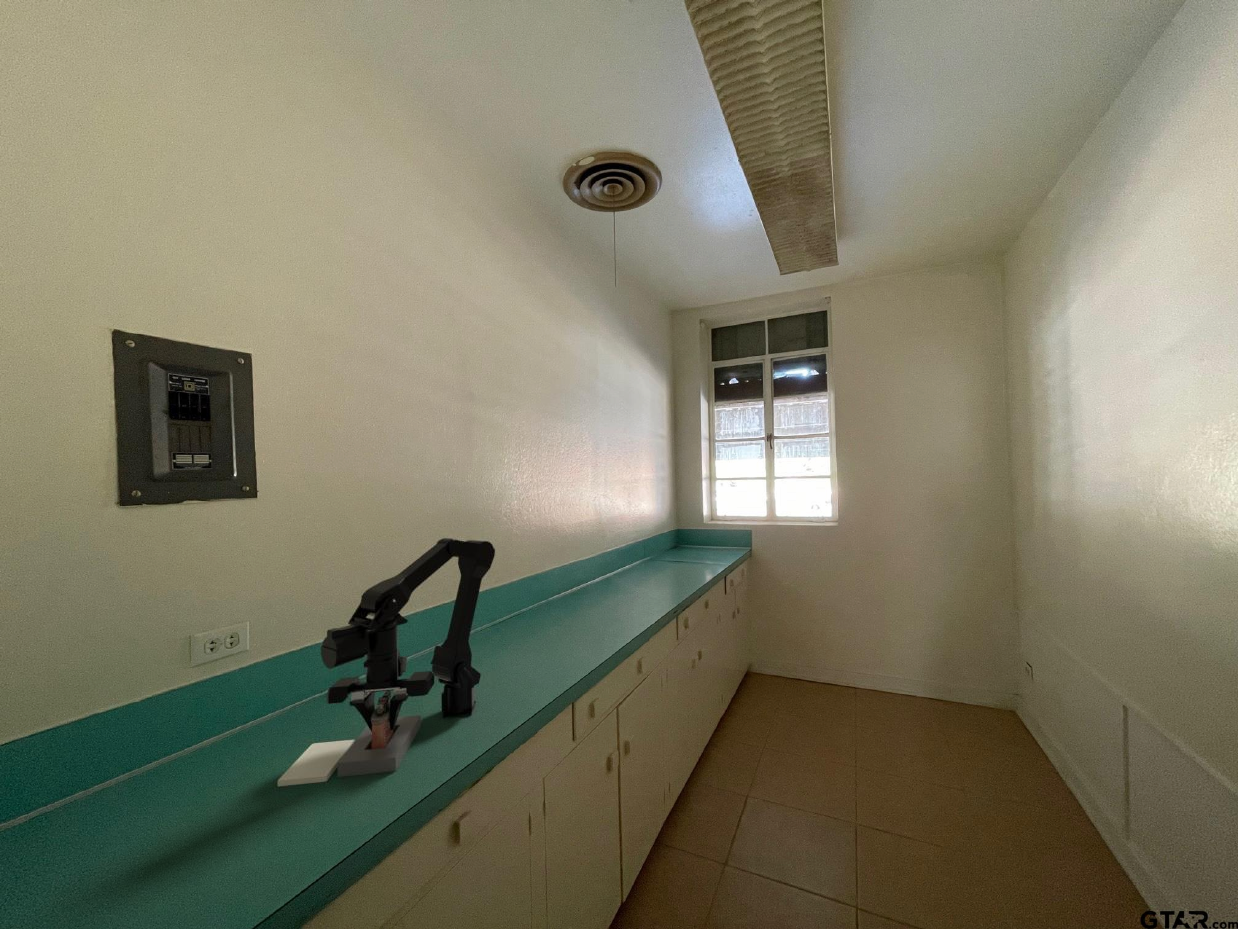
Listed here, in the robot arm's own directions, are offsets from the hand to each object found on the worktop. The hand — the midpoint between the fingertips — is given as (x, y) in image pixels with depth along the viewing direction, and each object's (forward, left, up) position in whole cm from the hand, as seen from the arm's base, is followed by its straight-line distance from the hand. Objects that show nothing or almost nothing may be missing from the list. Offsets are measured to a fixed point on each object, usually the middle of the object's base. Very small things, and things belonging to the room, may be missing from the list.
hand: (383, 730), depth 94 cm
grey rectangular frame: (0, 0, -4) cm, 4 cm away
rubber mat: (+11, +3, -4) cm, 12 cm away
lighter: (0, 0, -4) cm, 4 cm away
